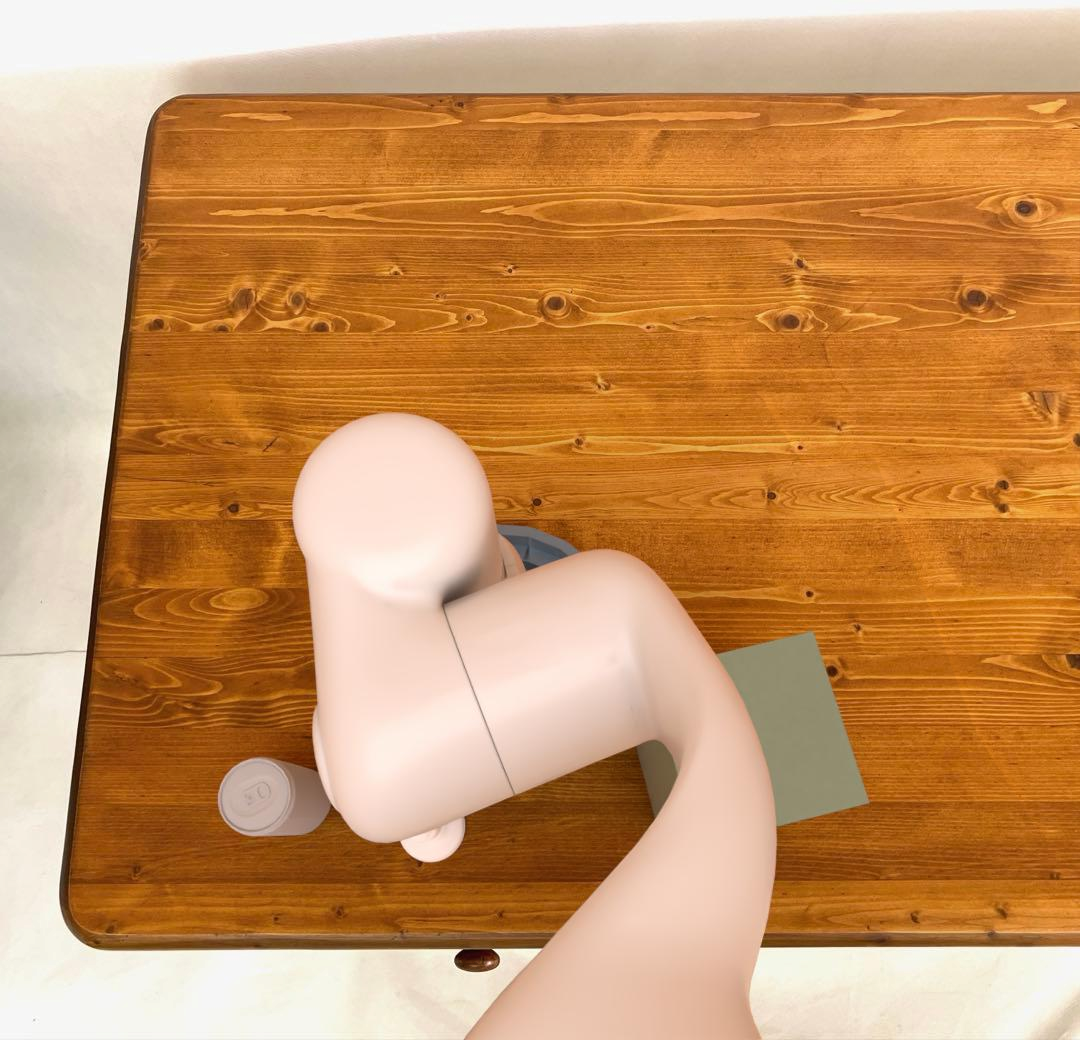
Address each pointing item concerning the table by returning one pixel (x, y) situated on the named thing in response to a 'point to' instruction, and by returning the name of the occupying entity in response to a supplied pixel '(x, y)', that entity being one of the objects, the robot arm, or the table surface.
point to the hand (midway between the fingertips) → (459, 645)
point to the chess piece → (436, 842)
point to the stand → (782, 731)
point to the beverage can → (272, 798)
